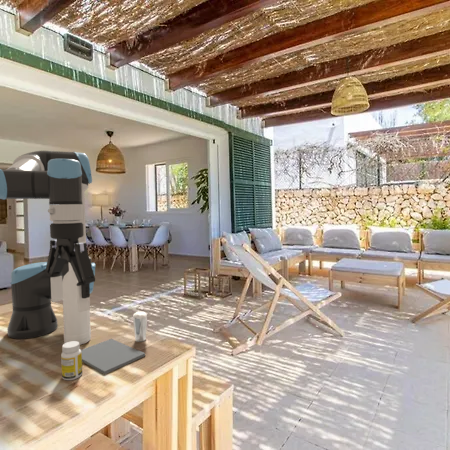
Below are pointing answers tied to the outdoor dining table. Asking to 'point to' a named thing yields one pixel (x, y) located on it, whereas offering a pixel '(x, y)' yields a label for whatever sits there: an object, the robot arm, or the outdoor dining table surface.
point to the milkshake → (140, 325)
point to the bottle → (74, 312)
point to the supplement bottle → (71, 360)
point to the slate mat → (109, 355)
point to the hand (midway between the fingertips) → (70, 305)
